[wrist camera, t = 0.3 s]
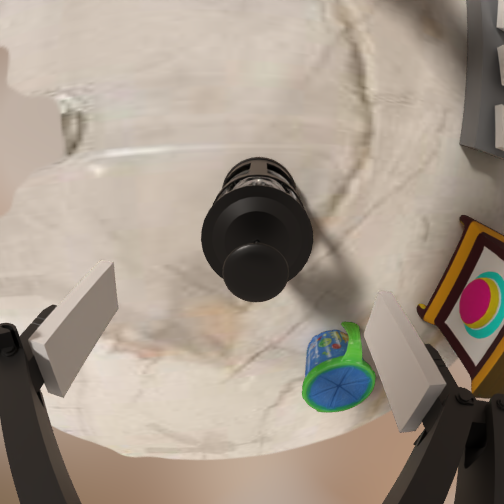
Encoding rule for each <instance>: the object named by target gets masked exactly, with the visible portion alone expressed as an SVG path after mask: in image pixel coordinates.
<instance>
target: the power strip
mask: <svg viewBox="0 0 504 504" xmlns="http://www.w3.org/2000/svg"><path fill="white" fill-rule="evenodd" d="M466 3H467V27H468V51H467V77H466V92H465V103H464V113H463V122H462V130H461V137H460V144H461V145H464V146H467V147H470V148H473V149H475V150H478V151H481V152H484V153H487V154H490V155H492V156H495V157H498V158H500V159H503V160H504V151H502V150H500V149H497V148H495V106H496V105H500V104H503V105H504V86H503V85H502V84H501V74H500V65H499V58H498V51H497V48H498V47H500V46H502V45H504V31H502V30H500V29H499V28H497V27H496V26H497V14H498V0H466Z"/></svg>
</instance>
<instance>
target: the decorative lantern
mask: <svg viewBox="0 0 504 504" xmlns="http://www.w3.org/2000/svg"><path fill="white" fill-rule="evenodd" d="M460 222H461V223H462V224H463V225H464V232H463V234H462V237H461V239H460V241H459V243H458V246H457V248H456V250H455V252H454V254H453V256H452V258H451V261H450V263H449V265H448V267H447V269H446V271H445V273H444V275H443V277H442V279H441V281H440V283H439V284H438V286H437V288H436V290H435V292H434V294H433V296H432V298H431V299H430V301H429V303H428V305H427V306H425V305H424V304H418V306H417V312H418V314H419V316H420V317H421V319H423V320H424V321H426V322H428V323H431V324H433V325H436V326H437V327H439V329H440V330H441V332H442V333H443V335H444V336H445V338H446V339H447V341H448V342H449V344H450V345H451V347H452V348H453V350H454V351H455V353H456V354H457V356H458V357H459V359H460V360H461V362H462V363H463V365H464V367H465V368H466V370H467V371H468V373H469V374H470V377H471V383H472V384H471V387H472V388H471V390H472V394H473V395H474V396H475V397H476V398H492V396H493V395H494V394H497V393H499V394H504V235H502V234H500V233H498V232H497V231H495V230H493V229H491V228H489V227H487V226H485V225H483V224H482V223H480V222H478V221H476V220H474V219H472V218H470V217H469V216H466V215H461V217H460Z"/></svg>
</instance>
